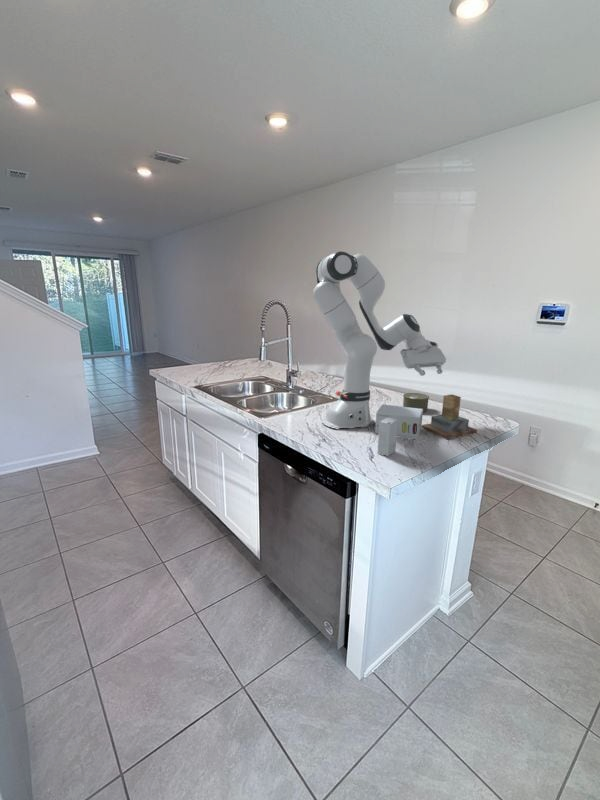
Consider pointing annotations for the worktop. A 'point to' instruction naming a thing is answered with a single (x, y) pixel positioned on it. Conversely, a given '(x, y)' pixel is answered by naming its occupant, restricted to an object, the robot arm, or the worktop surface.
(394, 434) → the skincare box
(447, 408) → the oak pillar
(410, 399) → the can
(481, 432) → the worktop surface
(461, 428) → the build base
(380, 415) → the supplement box
